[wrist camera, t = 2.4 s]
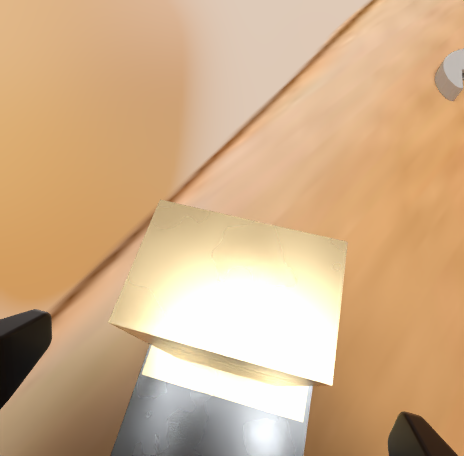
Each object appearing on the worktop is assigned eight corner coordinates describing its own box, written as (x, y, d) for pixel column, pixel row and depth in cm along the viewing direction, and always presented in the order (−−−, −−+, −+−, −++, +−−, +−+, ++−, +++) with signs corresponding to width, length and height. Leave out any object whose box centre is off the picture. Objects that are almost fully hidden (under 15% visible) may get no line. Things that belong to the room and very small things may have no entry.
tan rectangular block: (296, 419, 14) (400, 471, 5) (149, 375, 15) (27, 357, 6) (312, 309, 16) (405, 216, 7) (183, 276, 17) (128, 157, 8)
